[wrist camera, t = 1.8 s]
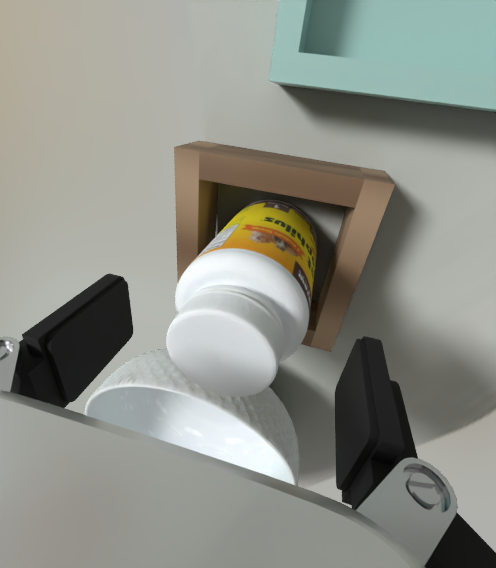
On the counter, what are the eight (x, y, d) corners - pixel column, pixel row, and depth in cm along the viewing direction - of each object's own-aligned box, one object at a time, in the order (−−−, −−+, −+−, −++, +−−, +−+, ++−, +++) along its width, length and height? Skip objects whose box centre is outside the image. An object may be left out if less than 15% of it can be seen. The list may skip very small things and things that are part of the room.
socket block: (198, 140, 16) (174, 147, 14) (384, 171, 15) (395, 184, 12) (196, 288, 21) (178, 312, 19) (331, 321, 20) (330, 351, 18)
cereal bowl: (308, 328, 21) (298, 414, 15) (304, 455, 29) (297, 542, 23) (110, 309, 25) (43, 371, 19) (156, 425, 34) (119, 492, 28)
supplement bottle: (336, 252, 17) (339, 390, 9) (264, 292, 20) (215, 426, 12) (282, 175, 16) (224, 253, 7) (212, 229, 19) (113, 331, 10)
